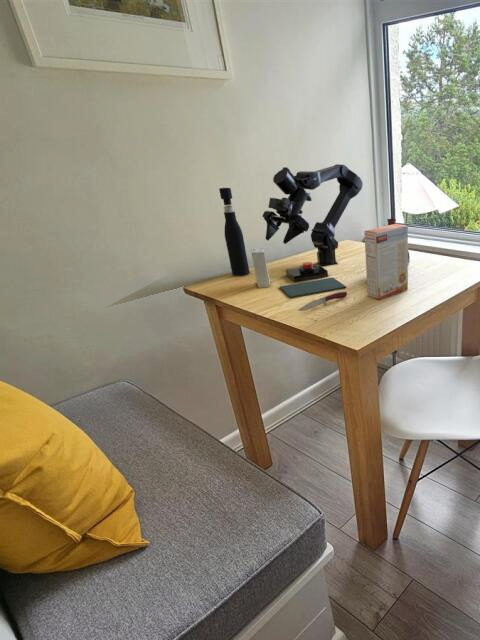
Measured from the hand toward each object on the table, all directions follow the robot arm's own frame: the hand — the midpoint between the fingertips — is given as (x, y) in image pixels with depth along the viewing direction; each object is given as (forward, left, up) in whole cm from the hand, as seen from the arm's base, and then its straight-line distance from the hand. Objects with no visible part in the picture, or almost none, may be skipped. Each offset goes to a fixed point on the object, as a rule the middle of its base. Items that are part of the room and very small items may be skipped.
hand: (275, 241), depth 149 cm
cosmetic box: (+7, +3, -14) cm, 16 cm away
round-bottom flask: (-37, +18, -14) cm, 43 cm away
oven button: (-10, +4, -10) cm, 14 cm away
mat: (-7, +16, -13) cm, 22 cm away
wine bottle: (+11, -15, -14) cm, 23 cm away
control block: (-10, +1, -13) cm, 17 cm away
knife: (-4, +34, -14) cm, 37 cm away
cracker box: (-27, +33, -14) cm, 45 cm away
